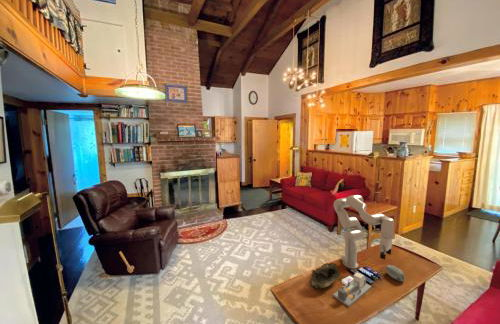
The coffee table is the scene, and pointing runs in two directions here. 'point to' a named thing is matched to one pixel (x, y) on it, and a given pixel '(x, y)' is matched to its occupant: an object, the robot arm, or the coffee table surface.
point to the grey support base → (351, 293)
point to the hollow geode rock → (324, 276)
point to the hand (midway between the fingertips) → (385, 256)
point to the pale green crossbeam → (351, 287)
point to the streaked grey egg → (395, 273)
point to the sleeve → (359, 279)
